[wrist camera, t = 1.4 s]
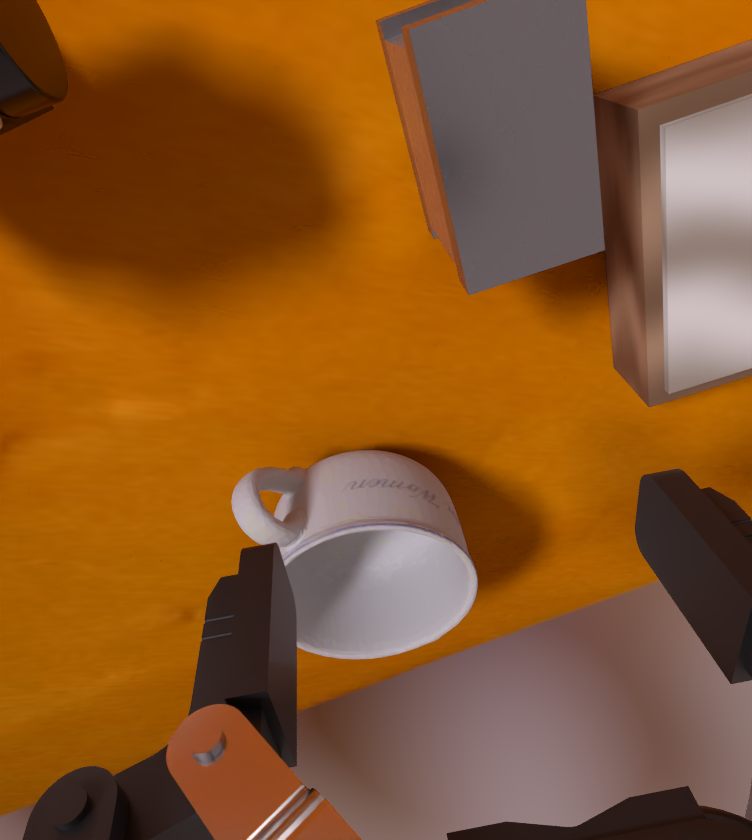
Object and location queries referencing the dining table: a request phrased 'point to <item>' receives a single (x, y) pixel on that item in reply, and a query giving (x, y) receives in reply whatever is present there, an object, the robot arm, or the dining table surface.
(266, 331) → the dining table surface
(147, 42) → the dining table surface
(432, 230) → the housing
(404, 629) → the teacup
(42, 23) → the pneumatic valve
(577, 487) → the dining table surface
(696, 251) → the stand
